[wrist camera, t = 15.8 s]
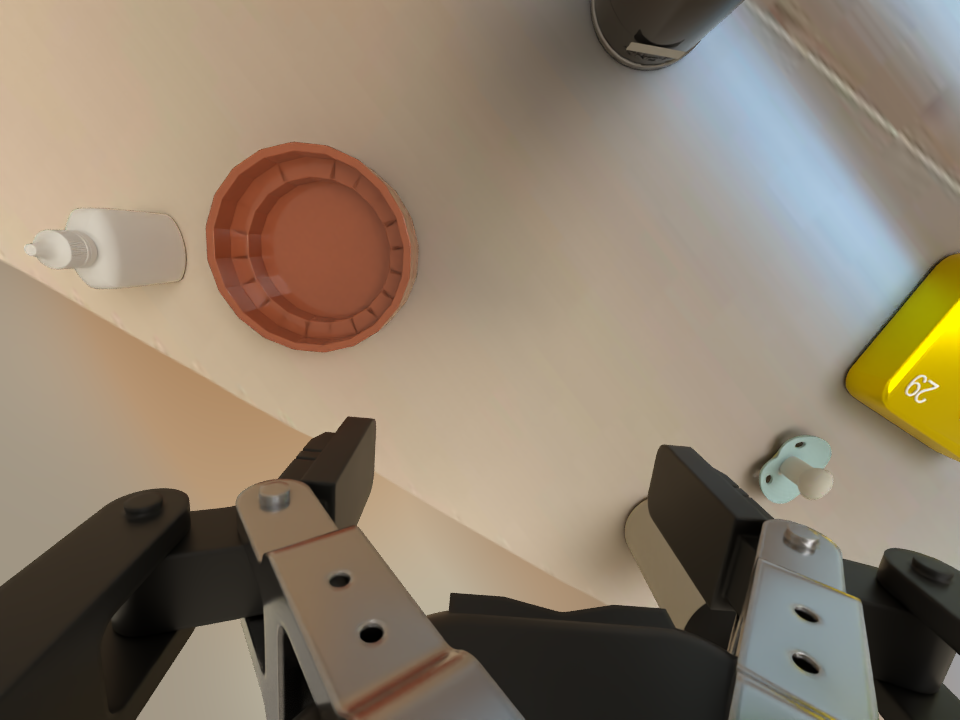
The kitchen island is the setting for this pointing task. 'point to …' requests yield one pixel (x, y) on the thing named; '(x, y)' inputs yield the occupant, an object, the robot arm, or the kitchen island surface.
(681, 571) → the travel mug
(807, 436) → the pacifier
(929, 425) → the element tile
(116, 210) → the eye dropper bottle
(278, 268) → the bowl
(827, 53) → the kitchen island surface
